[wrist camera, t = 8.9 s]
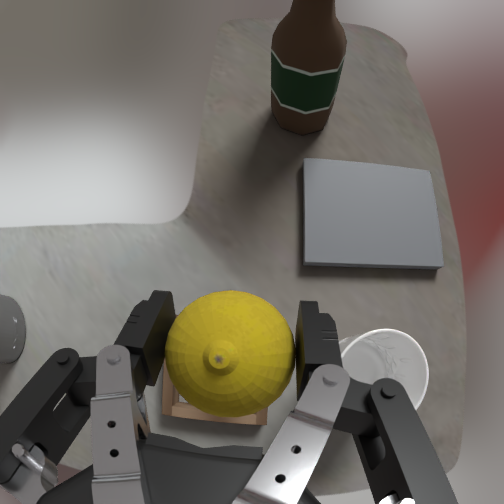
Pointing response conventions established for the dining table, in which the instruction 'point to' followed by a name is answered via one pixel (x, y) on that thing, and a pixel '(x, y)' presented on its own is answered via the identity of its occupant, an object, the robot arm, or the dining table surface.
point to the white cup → (387, 360)
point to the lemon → (230, 354)
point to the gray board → (369, 216)
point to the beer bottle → (306, 65)
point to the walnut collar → (186, 410)
